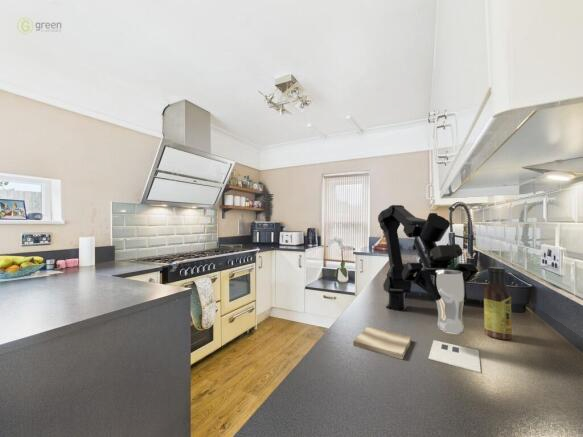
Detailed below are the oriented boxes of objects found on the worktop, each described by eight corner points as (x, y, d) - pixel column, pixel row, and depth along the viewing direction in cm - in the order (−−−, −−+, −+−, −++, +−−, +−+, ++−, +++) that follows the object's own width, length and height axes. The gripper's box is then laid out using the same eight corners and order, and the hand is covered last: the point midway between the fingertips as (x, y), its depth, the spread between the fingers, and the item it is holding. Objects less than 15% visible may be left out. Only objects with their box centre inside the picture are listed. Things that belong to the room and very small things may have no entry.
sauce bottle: (512, 343, 70) (511, 270, 70) (484, 336, 74) (483, 267, 74) (510, 335, 75) (510, 267, 76) (484, 329, 79) (483, 265, 79)
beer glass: (437, 321, 72) (435, 268, 72) (468, 327, 67) (465, 270, 67) (432, 330, 66) (430, 272, 66) (465, 337, 62) (462, 275, 62)
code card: (433, 340, 70) (433, 340, 70) (478, 351, 65) (478, 350, 65) (428, 359, 61) (428, 358, 61) (480, 373, 55) (480, 372, 55)
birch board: (367, 330, 77) (367, 326, 77) (411, 341, 70) (411, 336, 70) (353, 345, 67) (353, 340, 67) (402, 359, 60) (402, 354, 60)
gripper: (406, 233, 71) (426, 282, 60) (473, 234, 71) (506, 283, 60) (394, 258, 79) (411, 305, 68) (455, 259, 79) (481, 306, 67)
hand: (451, 300), depth 65 cm, fingers closed on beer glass, 7 cm apart
